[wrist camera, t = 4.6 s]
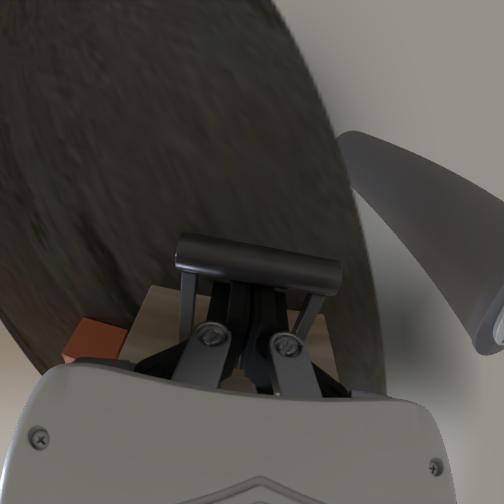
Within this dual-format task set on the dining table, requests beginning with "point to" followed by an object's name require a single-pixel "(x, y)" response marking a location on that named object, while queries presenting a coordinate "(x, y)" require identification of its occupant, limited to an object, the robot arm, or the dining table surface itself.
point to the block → (95, 341)
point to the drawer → (245, 270)
